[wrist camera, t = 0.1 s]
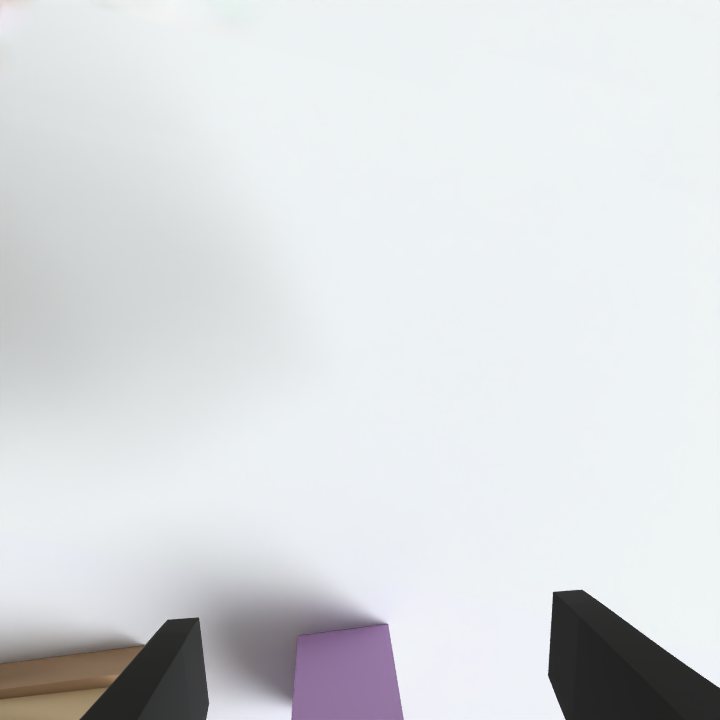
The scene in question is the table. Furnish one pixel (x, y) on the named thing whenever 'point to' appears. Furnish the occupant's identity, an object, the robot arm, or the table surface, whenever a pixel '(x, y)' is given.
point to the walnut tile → (64, 672)
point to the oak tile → (50, 705)
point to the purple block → (346, 676)
